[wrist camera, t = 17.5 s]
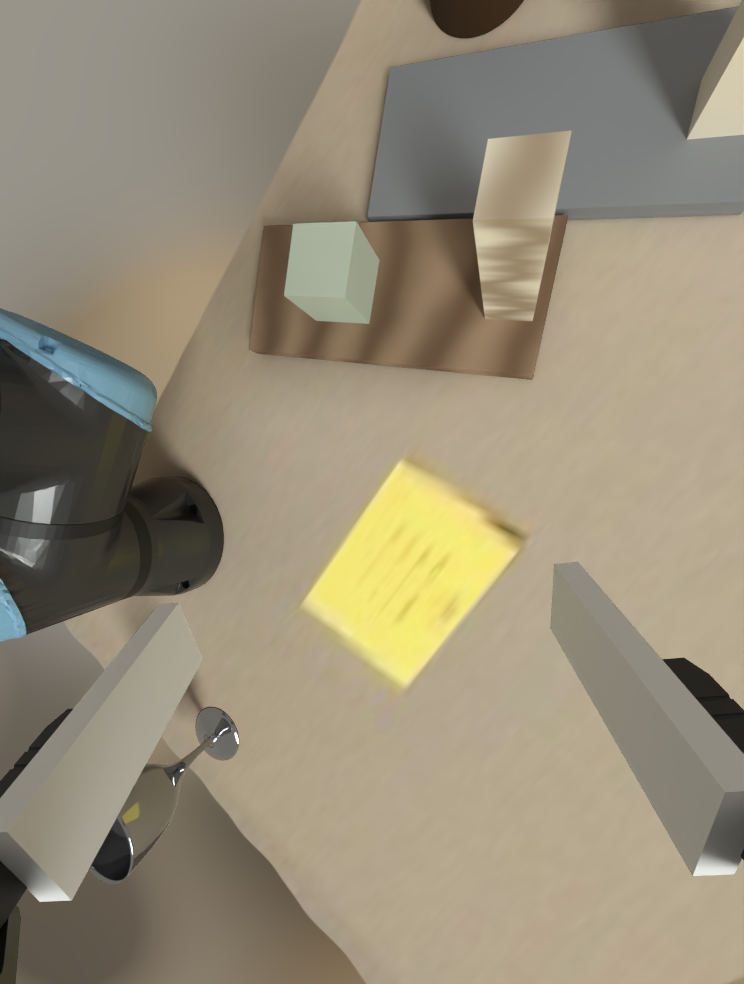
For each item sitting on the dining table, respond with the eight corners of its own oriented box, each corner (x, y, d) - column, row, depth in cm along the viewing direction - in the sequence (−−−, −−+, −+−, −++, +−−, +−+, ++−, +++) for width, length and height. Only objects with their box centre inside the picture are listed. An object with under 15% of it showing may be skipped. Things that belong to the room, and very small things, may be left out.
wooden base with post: (257, 353, 43) (130, 294, 28) (272, 234, 41) (146, 106, 27) (532, 379, 33) (554, 311, 19) (565, 226, 32) (617, 21, 17)
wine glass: (185, 733, 51) (62, 835, 37) (207, 692, 49) (88, 782, 35) (225, 775, 49) (112, 900, 35) (251, 734, 47) (142, 849, 33)
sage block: (316, 320, 39) (283, 295, 33) (324, 260, 38) (293, 223, 32) (369, 323, 37) (344, 297, 31) (379, 260, 36) (356, 221, 30)
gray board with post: (372, 226, 37) (288, 72, 23) (394, 83, 36) (320, -181, 21) (740, 214, 28) (998, -62, 13) (793, 19, 26) (1152, -537, 12)
